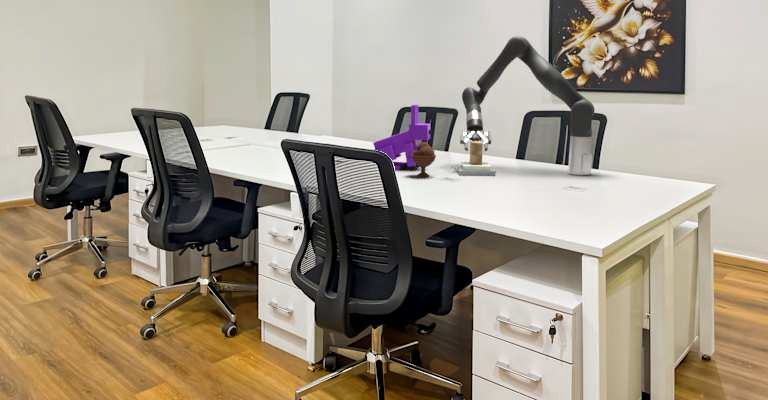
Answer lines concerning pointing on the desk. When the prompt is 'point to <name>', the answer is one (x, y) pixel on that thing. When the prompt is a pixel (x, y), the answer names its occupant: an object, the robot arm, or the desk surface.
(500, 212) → the desk surface
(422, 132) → the toy
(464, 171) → the plinth
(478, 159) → the brown mottled cylinder
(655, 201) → the desk surface
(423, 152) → the ice cream bowl
